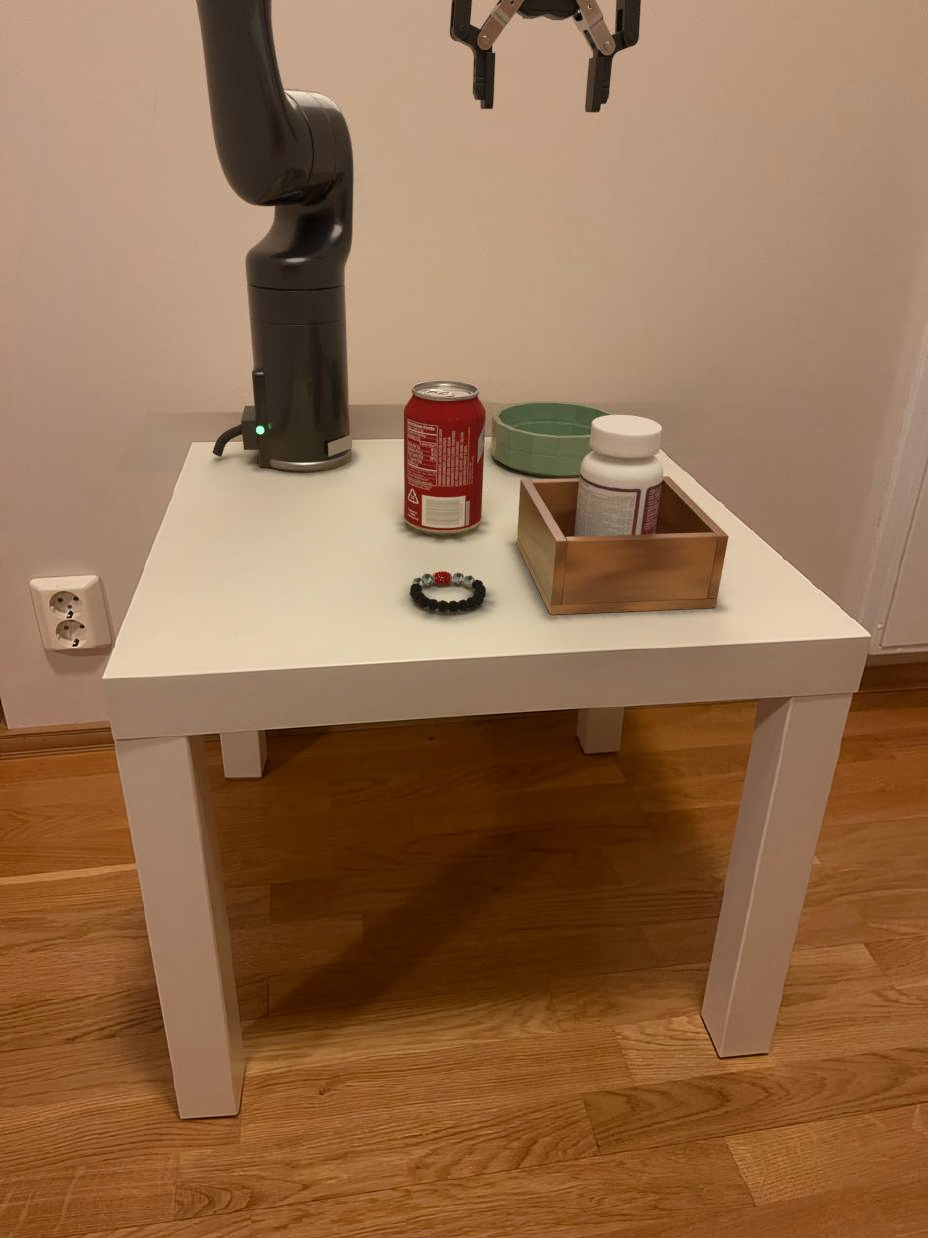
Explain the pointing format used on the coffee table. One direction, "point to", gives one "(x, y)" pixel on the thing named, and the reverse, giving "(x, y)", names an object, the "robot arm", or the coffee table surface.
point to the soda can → (443, 457)
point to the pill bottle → (620, 478)
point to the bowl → (544, 437)
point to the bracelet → (446, 576)
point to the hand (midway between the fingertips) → (539, 110)
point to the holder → (619, 554)
